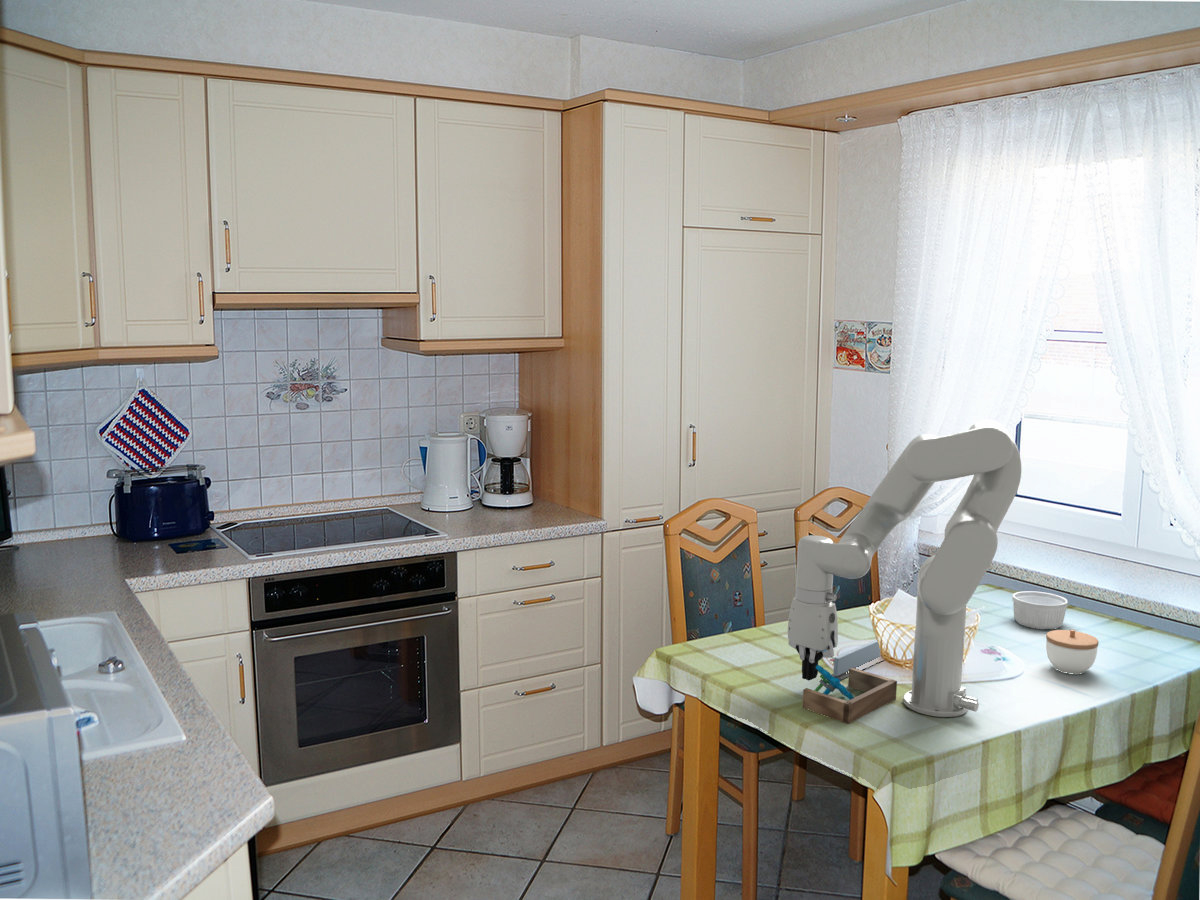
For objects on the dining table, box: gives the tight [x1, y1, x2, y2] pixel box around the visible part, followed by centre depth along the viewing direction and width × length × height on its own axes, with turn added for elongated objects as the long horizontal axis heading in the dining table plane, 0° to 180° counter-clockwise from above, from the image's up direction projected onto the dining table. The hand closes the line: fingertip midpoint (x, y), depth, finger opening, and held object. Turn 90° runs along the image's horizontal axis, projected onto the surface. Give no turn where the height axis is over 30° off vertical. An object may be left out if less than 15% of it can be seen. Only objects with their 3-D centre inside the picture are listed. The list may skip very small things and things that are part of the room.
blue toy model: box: [813, 664, 855, 701], centre depth 209 cm, size 11×6×10 cm
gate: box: [832, 638, 881, 676], centre depth 228 cm, size 1×18×4 cm, turn 135°
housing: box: [802, 668, 898, 725], centre depth 217 cm, size 17×38×4 cm, turn 134°
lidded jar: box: [1045, 629, 1099, 674], centre depth 228 cm, size 11×11×9 cm
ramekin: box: [1011, 590, 1069, 630], centre depth 262 cm, size 13×13×7 cm
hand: (809, 677), depth 214 cm, fingers closed
